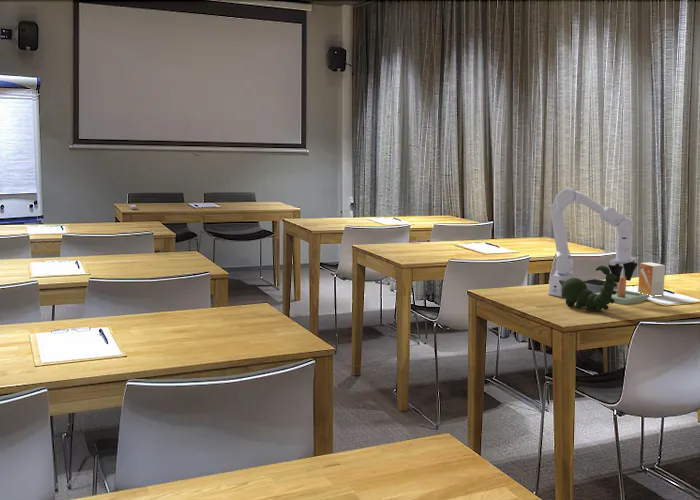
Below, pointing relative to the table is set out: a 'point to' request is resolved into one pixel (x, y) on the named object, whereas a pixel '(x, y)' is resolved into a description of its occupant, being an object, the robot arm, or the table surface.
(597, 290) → the grey square bin
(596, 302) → the toy figurine
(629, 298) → the tray
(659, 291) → the small box
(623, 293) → the dowel
